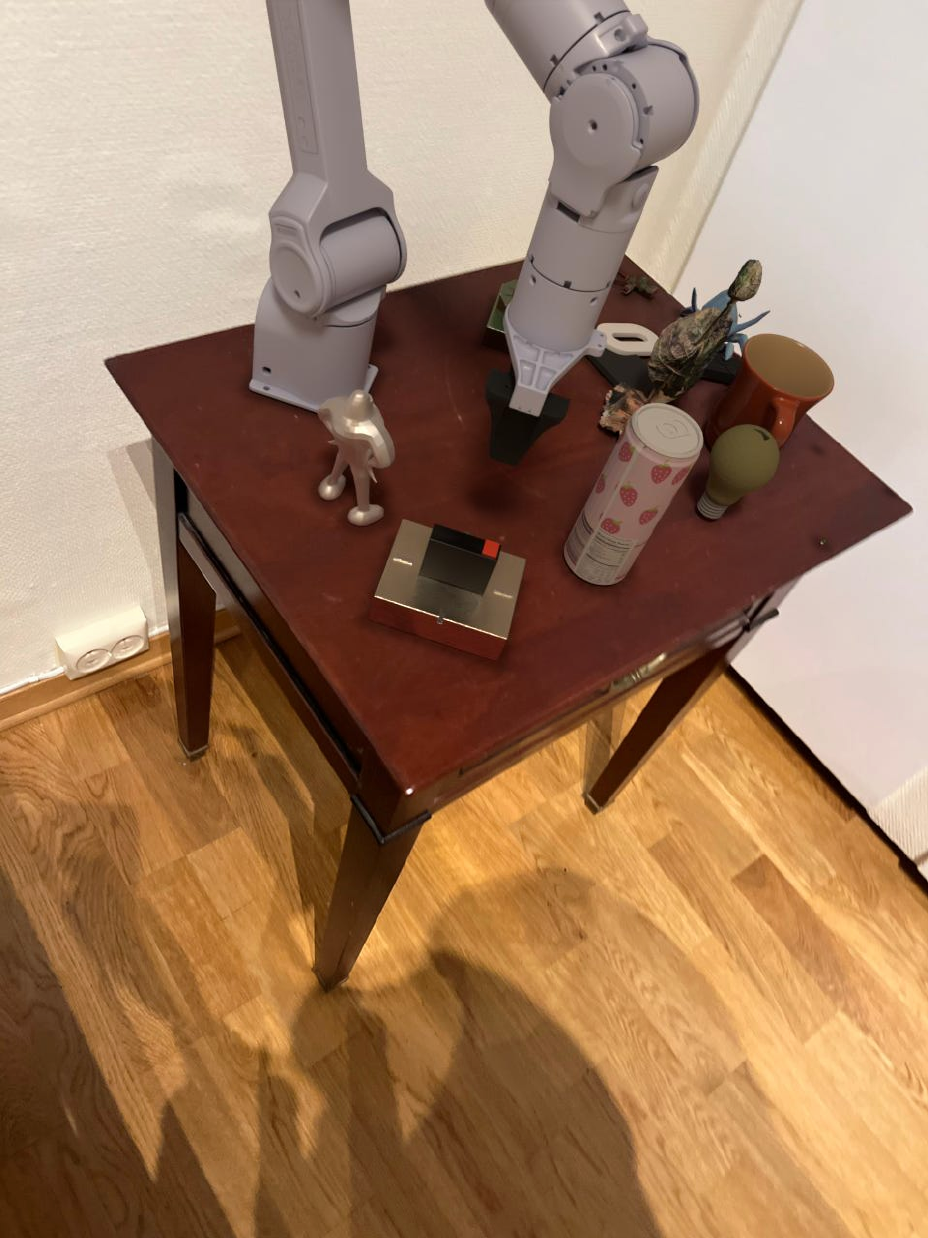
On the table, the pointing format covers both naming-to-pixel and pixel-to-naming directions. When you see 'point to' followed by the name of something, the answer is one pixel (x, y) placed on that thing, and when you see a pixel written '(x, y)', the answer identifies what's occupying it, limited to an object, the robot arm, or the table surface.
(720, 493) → the light bulb
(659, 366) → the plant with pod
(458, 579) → the knob
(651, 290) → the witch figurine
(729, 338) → the figurine
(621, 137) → the robot arm
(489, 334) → the button block
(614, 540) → the beverage can
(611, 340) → the chain link
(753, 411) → the mug
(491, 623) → the panel
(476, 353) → the table surface
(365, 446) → the figurine
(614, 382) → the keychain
